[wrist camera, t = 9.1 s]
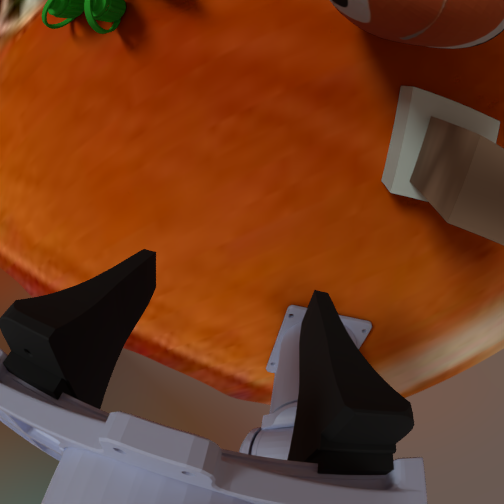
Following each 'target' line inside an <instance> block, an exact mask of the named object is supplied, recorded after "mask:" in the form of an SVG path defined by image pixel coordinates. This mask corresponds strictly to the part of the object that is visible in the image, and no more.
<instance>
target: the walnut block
mask: <svg viewBox="0 0 504 504" xmlns="http://www.w3.org/2000/svg"><path fill="white" fill-rule="evenodd" d="M410 182H411V183H412V185H413V186H414V187H415V188H416V189H417V190H418V191H419V192H420V193H421V194H422V195H423V196H424V197H425V198H426V199H427V201H428V202H429V203H430V204H431V205H432V206H433V207H434V208H435V209H436V211H437V212H438V213H439V214H440V215H441V216H442V217H443V219H444V220H445V221H446V222H447V223H449V224H452V225H454V226H457V227H460V228H462V229H465V230H467V231H470V232H472V233H475V234H477V235H480V236H482V237H485V238H487V239H490V240H492V241H494V242H497V243H499V244H501V245H504V148H502V147H500V146H499V145H497V144H495V143H494V142H492V141H490V140H489V139H487V138H485V137H483V136H482V135H480V134H477V133H475V132H472V131H470V130H467V129H465V128H462V127H460V126H457V125H455V124H452V123H449V122H447V121H444V120H441V119H438V118H435V117H433V116H431V118H430V121H429V124H428V128H427V131H426V134H425V137H424V140H423V143H422V147H421V150H420V153H419V155H418V158H417V161H416V164H415V167H414V170H413V173H412V175H411V178H410Z"/></svg>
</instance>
